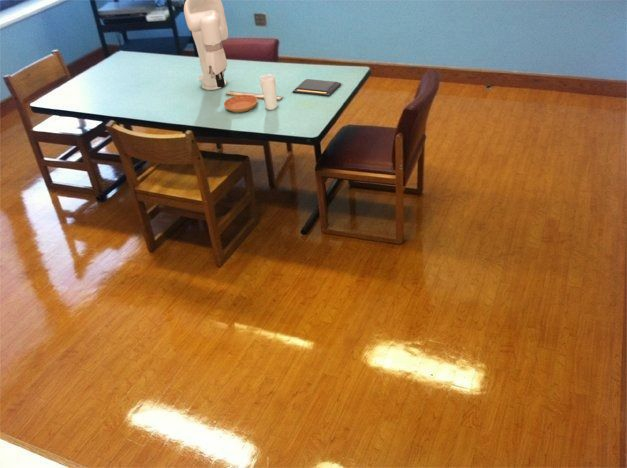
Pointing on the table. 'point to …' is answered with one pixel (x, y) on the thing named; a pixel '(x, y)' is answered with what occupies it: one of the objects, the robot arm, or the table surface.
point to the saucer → (240, 103)
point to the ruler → (250, 94)
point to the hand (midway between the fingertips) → (221, 86)
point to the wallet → (317, 87)
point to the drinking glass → (269, 91)
